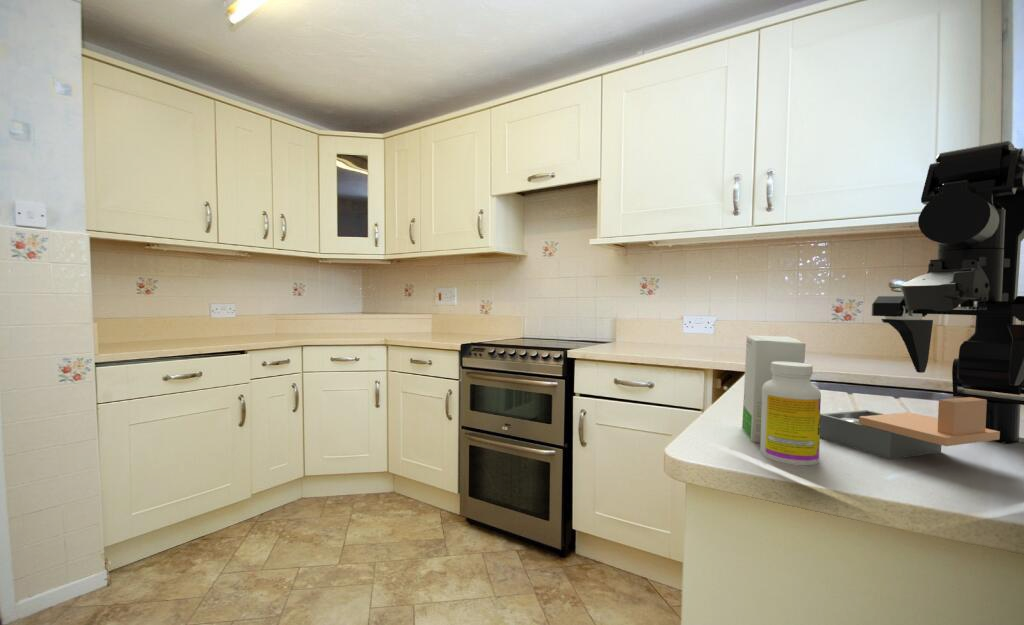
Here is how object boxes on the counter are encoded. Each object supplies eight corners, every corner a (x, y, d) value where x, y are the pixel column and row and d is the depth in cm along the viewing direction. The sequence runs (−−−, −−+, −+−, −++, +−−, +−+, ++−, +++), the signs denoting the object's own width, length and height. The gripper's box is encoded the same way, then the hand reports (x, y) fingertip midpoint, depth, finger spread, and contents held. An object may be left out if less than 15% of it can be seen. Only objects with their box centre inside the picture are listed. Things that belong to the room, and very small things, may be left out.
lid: (908, 418, 66) (909, 384, 66) (999, 439, 57) (1001, 399, 56) (858, 423, 63) (860, 388, 63) (945, 446, 54) (947, 404, 53)
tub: (865, 435, 72) (866, 409, 72) (940, 456, 62) (942, 427, 62) (817, 440, 69) (818, 414, 69) (889, 463, 59) (890, 432, 59)
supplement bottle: (828, 472, 56) (832, 368, 56) (770, 467, 57) (773, 366, 57) (805, 454, 63) (808, 361, 62) (753, 450, 64) (755, 359, 64)
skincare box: (741, 430, 74) (744, 334, 73) (787, 434, 72) (790, 336, 71) (751, 446, 66) (754, 338, 65) (803, 451, 64) (807, 340, 63)
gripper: (844, 255, 62) (840, 369, 62) (1036, 237, 44) (1028, 397, 45) (901, 258, 65) (897, 366, 66) (1101, 243, 48) (1093, 392, 48)
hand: (963, 378), depth 56 cm, fingers open, 9 cm apart
